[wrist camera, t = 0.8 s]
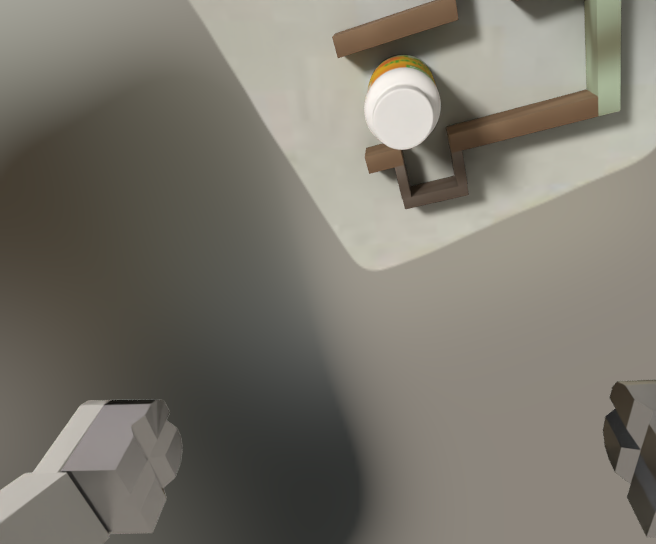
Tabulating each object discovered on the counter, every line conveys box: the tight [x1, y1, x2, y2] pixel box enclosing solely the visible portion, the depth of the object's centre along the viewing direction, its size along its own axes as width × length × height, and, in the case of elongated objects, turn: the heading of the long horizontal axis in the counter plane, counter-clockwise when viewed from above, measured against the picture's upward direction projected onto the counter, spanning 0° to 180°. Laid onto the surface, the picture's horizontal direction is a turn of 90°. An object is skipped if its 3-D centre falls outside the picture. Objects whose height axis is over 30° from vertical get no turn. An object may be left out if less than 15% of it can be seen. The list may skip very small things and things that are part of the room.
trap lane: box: [332, 0, 621, 209], centre depth 36 cm, size 19×20×2 cm
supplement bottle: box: [364, 55, 441, 150], centre depth 35 cm, size 5×5×10 cm
